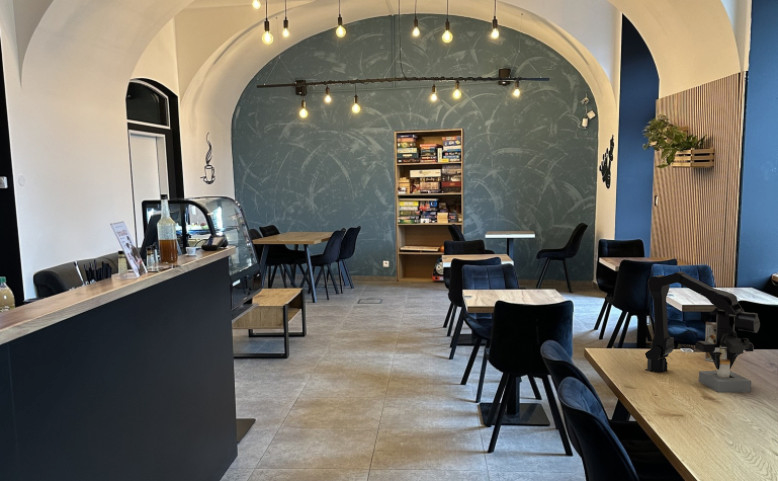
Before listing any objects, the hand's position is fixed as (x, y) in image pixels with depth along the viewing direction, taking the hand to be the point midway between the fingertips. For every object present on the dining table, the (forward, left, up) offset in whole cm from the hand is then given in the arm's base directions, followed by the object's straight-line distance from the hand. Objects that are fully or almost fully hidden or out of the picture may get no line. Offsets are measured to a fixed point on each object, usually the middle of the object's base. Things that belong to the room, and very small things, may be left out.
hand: (723, 369), depth 207 cm
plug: (0, 0, -5) cm, 5 cm away
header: (+1, 0, -8) cm, 8 cm away
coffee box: (+20, +34, -8) cm, 40 cm away
